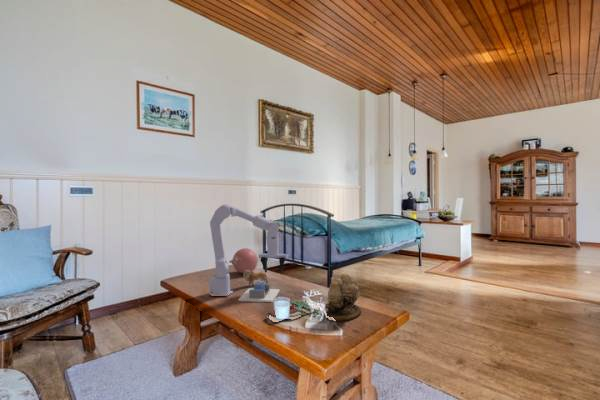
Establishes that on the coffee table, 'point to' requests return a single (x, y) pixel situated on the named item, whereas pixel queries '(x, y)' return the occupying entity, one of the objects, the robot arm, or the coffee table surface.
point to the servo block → (259, 286)
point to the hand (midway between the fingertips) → (273, 272)
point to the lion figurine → (254, 276)
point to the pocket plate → (260, 295)
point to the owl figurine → (343, 299)
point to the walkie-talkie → (293, 312)
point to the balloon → (244, 260)
